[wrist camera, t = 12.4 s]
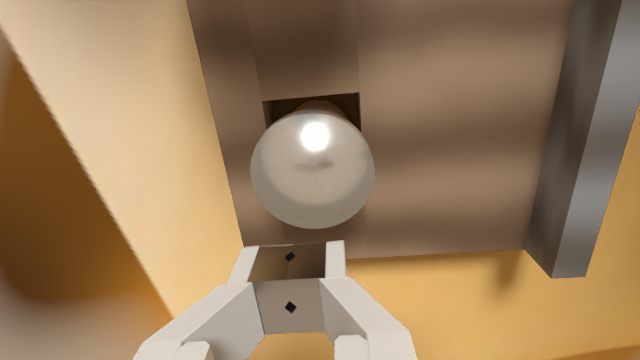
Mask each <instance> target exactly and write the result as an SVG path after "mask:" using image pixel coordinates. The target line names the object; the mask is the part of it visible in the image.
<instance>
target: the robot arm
mask: <svg viewBox="0 0 640 360" xmlns="http://www.w3.org/2000/svg"><path fill="white" fill-rule="evenodd" d="M295 332H326V334H327V336H328V338H329V339H330V341H331V342H332V344H333V346H334V347H335V356H334V360H417V357H416V353H415V349H414V346H413V342H412V338H411V334H410V331H409V330H408V329H406V328H405V327H404V326H403V325H402V324H401V323H400V322H399V321H398V320H397V319H396V318H395V317H394V316H393V315H392V314H390V313H389V312H388V311H387V310H386V309H385V308H384V307H383V306H382V305H381V304H380V303H379V302H378V301H377V300H376V299H374V298H373V297H372V296H371V295H370V294H369V293H368V292H367V291H366V290H365V289H364V288H363V287H362V286H361V285H360V284H358V283H357V282H356V281H355V280H354V279H353V278H352V277H347V272H346V259H345V246H344V241H343V240H339V241H329V242H321V243H308V244H295V245H294V244H285V245H261V246H245V247H243V248H242V249H241V251H240V254H239V256H238V258H237V261H236V263H235V265H234V268H233V270H232V272H231V275H230V277H229V279H228V281H227V284H221V285H219V286H218V287H217V288H215V289H214V290H213V291H211V292H210V293H209V294H207V295H206V296H205V297H203V298H202V299H200V300H199V301H198V302H196V303H195V304H194V305H192V306H191V307H190V308H188V309H187V310H186V311H184V312H183V313H182V314H180V315H179V316H178V317H176V318H175V319H174V320H172V321H171V322H169V323H168V324H167V325H165V326H164V327H163V328H162V329H160V330H159V331H157V332H156V333H155V334H153V335H152V336H151V337H149V338H148V339H147V340H145V341H144V342H143V344H142V345H141V347H140V348H139V350H138V352H137V353H136V355H135V356H134V358H133V360H246V359H247V358H248V357H249V355H250V354H251V353H252V352H253V350H254V349H255V348H256V347H257V345H258V344H259V343H260V342H261V340H262V339H263V338H264V337H265V336H264V335H266V334H281V333H295Z"/></svg>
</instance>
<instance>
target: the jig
mask: <svg viewBox="0 0 640 360" xmlns="http://www.w3.org/2000/svg"><path fill="white" fill-rule="evenodd" d="M186 2H187V6H188V10H189V15H190V19H191V23H192V27H193V32H194V36H195V40H196V45H197V49H198V53H199V57H200V62H201V66H202V70H203V74H204V79H205V83H206V87H207V92H208V96H209V100H210V104H211V109H212V113H213V117H214V121H215V126H216V130H217V134H218V138H219V143H220V147H221V151H222V156H223V160H224V164H225V168H226V173H227V177H228V181H229V185H230V190H231V194H232V198H233V203H234V207H235V211H236V215H237V220H238V224H239V228H240V232H241V237H242V241H243V245H244V247H245V246H261V245H285V244H294V245H295V244H308V243H321V242H329V241H339V240H343V241H344V246H345V259H357V258H375V257H393V256H411V255H429V254H447V253H465V252H483V251H501V250H519V249H525V250H526V251H527V253H528V254H529V255H530V256H531V257H532V258H533V259H534V260H535V261H536V262H537V264H538V265H539V266H540V267H541V268H542V269H543V270H544V271H545V272H546V273H547V275H548V276H549V277H550V278H551V279H552V278H573V277H585V275H586V272H587V269H588V266H589V263H590V259H591V256H592V253H593V250H594V246H595V243H596V240H597V237H598V234H599V230H600V227H601V224H602V221H603V218H604V214H605V211H606V208H607V205H608V201H609V198H610V195H611V192H612V189H613V185H614V182H615V179H616V176H617V172H618V169H619V166H620V163H621V160H622V156H623V153H624V150H625V147H626V144H627V140H628V137H629V134H630V131H631V127H632V124H633V121H634V118H635V115H636V111H637V108H638V105H639V102H640V0H186ZM355 92H356V93H357V114H358V130H359V131H360V132H361V133H362V135H363V136H364V138H365V140H366V141H367V143H368V146H369V148H370V151H371V154H372V157H373V161H374V167H375V179H374V185H373V188H372V191H371V194H370V196H369V198H368V200H367V201H366V203H365V204H364V206H363V207H362V208H361V209H360V210H359V211H358V212H357V213H356V214H355V215H354V216H352V217H351V218H349V219H348V220H346V221H344V222H342V223H340V224H338V225H335V226H332V227H328V228H321V229H307V228H300V227H296V226H293V225H290V224H287V223H285V222H283V221H281V220H280V219H278V218H276V217H275V216H274V215H272V214H271V213H270V212H269V211H268V210H267V209H266V208H265V207H264V206H263V205H262V203H261V202H260V201H259V199H258V197H257V196H256V194H255V191H254V189H253V186H252V182H251V176H250V164H251V158H252V155H253V151H254V149H255V147H256V145H257V143H258V142H259V140H260V139H261V137H262V136H263V134H264V133H265V131H266V130H267V129H268V128H269V127H270V126H271V125H272V124H273V123H274V122H275V119H274V112H273V106H272V100H279V99H290V98H301V97H312V96H322V95H333V94H344V93H355Z"/></svg>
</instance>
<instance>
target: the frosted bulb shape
mask: <svg viewBox="0 0 640 360" xmlns="http://www.w3.org/2000/svg"><path fill="white" fill-rule="evenodd" d="M250 176H251V182H252V186H253V189H254V191H255V194H256V196H257V197H258V199H259V201H260V202H261V203H262V205H263V206H264V207H265V208H266V209H267V210H268V211H269V212H270V213H271V214H272V215H274V216H275V217H276V218H278V219H280V220H281V221H283V222H285V223H287V224H290V225H293V226H296V227H300V228H307V229H321V228H328V227H332V226H335V225H338V224H340V223H342V222H344V221H346V220H348V219H349V218H351V217H352V216H354V215H355V214H356V213H357V212H358V211H359V210H360V209H361V208H362V207H363V206H364V204H365V203H366V201H367V200H368V198H369V196H370V194H371V191H372V188H373V185H374V179H375V167H374V161H373V157H372V154H371V151H370V148H369V146H368V143H367V141H366V140H365V138H364V136H363V135H362V133H361V132H360V131H359V130H358V129H357V128H356V127H355V126H354V125H353V124H352V123H351V122H349V121H348V120H347V117H346V116H345V114H344V112H343V111H342V110H341V109H340V108H339V107H338V106H336V105H335V104H333V103H331V102H329V101H325V100H311V101H308V102H305V103H303V104H302V105H300V106H299V107H298V108H296V110H295V111H294V112H293V113H290V114H288V115H285V116H283V117H282V118H280V119H278V120H277V121H276V122H274V123H273V124H272V125H271V126H270V127H269V128H268V129H267V130H266V131H265V133H264V134H263V136H262V137H261V139H260V140H259V142H258V143H257V145H256V147H255V149H254V151H253V155H252V158H251V164H250Z"/></svg>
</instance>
